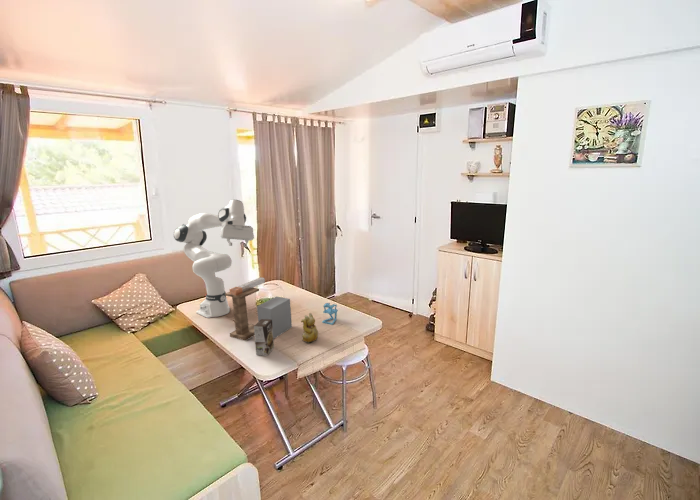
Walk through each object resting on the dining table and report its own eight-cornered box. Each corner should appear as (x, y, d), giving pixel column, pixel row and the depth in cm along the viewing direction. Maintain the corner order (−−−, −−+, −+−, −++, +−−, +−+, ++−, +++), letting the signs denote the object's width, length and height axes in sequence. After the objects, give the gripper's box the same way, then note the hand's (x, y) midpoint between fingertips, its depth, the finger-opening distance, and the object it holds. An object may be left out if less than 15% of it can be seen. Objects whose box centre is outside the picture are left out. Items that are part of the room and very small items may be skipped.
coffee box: (267, 356, 180) (265, 326, 176) (255, 355, 181) (253, 325, 177) (274, 347, 188) (272, 319, 185) (263, 346, 190) (261, 318, 186)
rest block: (259, 335, 202) (256, 306, 198) (278, 324, 217) (276, 296, 213) (273, 339, 197) (270, 309, 193) (291, 327, 212) (289, 298, 208)
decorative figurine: (308, 335, 201) (307, 310, 197) (321, 337, 198) (320, 312, 194) (300, 343, 192) (298, 317, 189) (313, 345, 189) (312, 319, 186)
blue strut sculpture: (339, 320, 220) (339, 301, 217) (332, 325, 213) (331, 306, 210) (329, 317, 224) (328, 299, 221) (321, 322, 217) (321, 304, 214)
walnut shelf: (230, 336, 202) (225, 293, 196) (247, 326, 214) (243, 286, 208) (245, 340, 197) (240, 296, 191) (262, 330, 209) (258, 288, 203)
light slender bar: (230, 294, 195) (229, 289, 194) (260, 281, 215) (259, 277, 214) (235, 295, 193) (235, 290, 192) (265, 282, 213) (265, 278, 212)
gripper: (250, 227, 229) (251, 248, 226) (219, 224, 215) (219, 246, 212) (255, 225, 224) (256, 246, 221) (223, 221, 211) (223, 243, 208)
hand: (238, 246), depth 217 cm, fingers open, 8 cm apart
